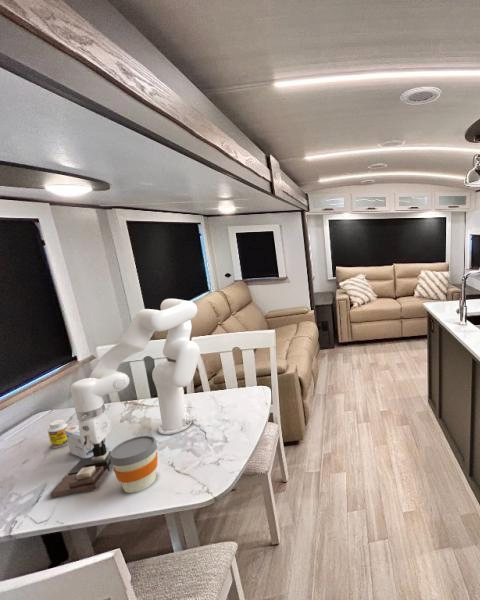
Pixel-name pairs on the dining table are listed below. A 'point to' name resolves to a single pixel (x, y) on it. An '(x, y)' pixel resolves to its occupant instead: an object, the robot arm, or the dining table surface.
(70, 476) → the key block
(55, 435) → the supplement bottle
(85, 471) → the key
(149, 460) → the reusable coffee cup
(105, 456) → the key
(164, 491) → the dining table surface
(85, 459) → the key block
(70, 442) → the light bulb box
